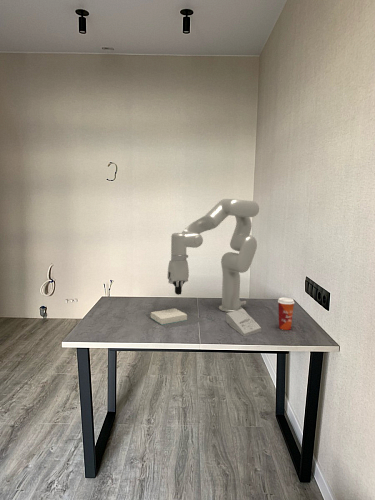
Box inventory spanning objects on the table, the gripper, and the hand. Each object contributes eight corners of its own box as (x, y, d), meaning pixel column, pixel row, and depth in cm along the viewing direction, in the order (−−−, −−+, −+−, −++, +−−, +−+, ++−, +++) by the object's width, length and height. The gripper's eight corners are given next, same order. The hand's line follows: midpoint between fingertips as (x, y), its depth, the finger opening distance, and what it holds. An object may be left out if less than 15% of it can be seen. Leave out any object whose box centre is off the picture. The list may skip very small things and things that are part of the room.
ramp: (263, 338, 166) (263, 326, 165) (227, 337, 167) (227, 325, 166) (255, 318, 194) (256, 308, 193) (225, 317, 195) (225, 307, 194)
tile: (175, 308, 196) (150, 312, 188) (186, 314, 185) (161, 318, 178) (175, 313, 196) (150, 318, 189) (186, 320, 186) (161, 325, 179)
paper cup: (284, 331, 173) (285, 302, 171) (273, 326, 179) (274, 298, 178) (297, 329, 176) (298, 300, 174) (285, 324, 183) (287, 296, 181)
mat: (182, 310, 204) (182, 309, 204) (205, 321, 186) (205, 320, 186) (146, 316, 193) (146, 315, 193) (165, 329, 174) (165, 328, 174)
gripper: (187, 256, 193) (187, 290, 196) (161, 257, 185) (161, 294, 188) (195, 258, 187) (194, 294, 189) (169, 260, 179) (168, 297, 181)
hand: (178, 293), depth 188 cm, fingers closed
